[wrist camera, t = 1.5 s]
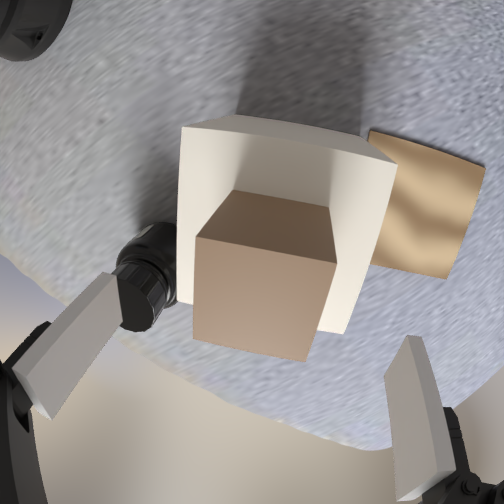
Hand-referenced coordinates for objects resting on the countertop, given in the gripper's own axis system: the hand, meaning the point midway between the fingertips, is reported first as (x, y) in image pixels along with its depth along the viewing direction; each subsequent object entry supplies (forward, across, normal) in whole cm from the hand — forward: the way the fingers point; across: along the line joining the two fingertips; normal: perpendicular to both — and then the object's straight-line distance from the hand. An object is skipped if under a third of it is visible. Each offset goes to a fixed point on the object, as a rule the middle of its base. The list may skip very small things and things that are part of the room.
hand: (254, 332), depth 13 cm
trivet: (+23, +15, 0) cm, 28 cm away
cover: (+23, 0, 0) cm, 23 cm away
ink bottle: (+24, -14, -11) cm, 29 cm away
